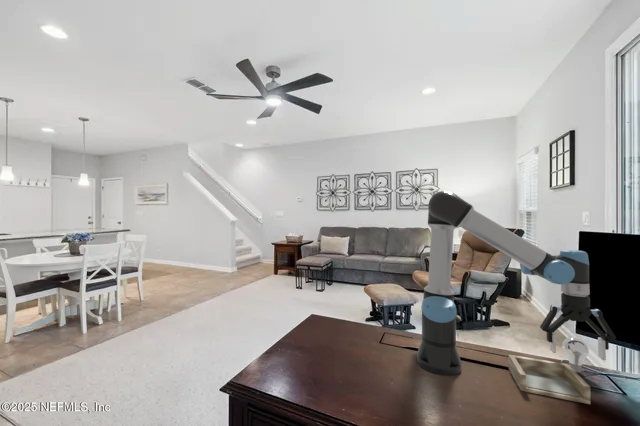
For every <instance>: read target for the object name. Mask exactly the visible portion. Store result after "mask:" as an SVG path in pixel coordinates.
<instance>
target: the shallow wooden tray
mask: <svg viewBox="0 0 640 426" xmlns="http://www.w3.org/2000/svg"><path fill="white" fill-rule="evenodd" d="M508 370H509V372H510V373H511V375H512V377H513V379H514V381H515V383H516V384H517V386H518V388H519V391H522V392H526V393H532V394H537V395H541V396H547V397H552V398H556V399H562V400H567V401H572V402H576V403H581V404H582V403H583V404H587V405H591V386H590V385H589V384H588V383H587V382H586V381H585V380H584V379H583V378H582V377H581V376H580V375H579V373H576V372H575V371H574V370H573V369H572V368H571V367H570V366H569V363H563V362H556V361H551V360H546V359H537V358H532V357H527V356H520V355H513V354H508Z"/></svg>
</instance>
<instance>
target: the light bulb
mask: <svg viewBox="0 0 640 426" xmlns="http://www.w3.org/2000/svg"><path fill="white" fill-rule="evenodd" d="M561 347H562V350H563V352H564V354H565V355H566V358H567V360H568V362H569V363H568V365H569V366H570V367H571V368H572V369H573V370H574V371H575V372H576V373H577V374H579V373H581V372H582V370H583V366H582V365H583V364H584V360H585V359H587V357H588V356H589V354H590V350H589V347H588V345H587V344H586V342H584V341H583V340H582V339H580V338H577V337H574V336H573V337H572V336H571V337H570V336H569V337H566V338H565V339H564V340H563V341H562V344H561Z"/></svg>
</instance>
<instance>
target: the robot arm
mask: <svg viewBox="0 0 640 426" xmlns="http://www.w3.org/2000/svg"><path fill="white" fill-rule="evenodd" d="M427 209H428V213H427V226H429V228H430V245H429V246H430V247H429V262H428V264H429V265H428V278H427V279H428V281H427V285H426V286H424V287H423V299H422V302H421V307H420V308H421V342H420V344H419V347H418V349H417V353H416V363H417V364H418V365H419V367H421V368H422V369H424V370H426V371H427V372H430V373H433V374H436V375H439V376H440V375H441V376H456V375H458V374H460V373H461V372H462V361H461V358H460V354H459V350H458V348H457V312H458V311H457V307H456V306H457V305H456V304H455V302H454V301H455V292H454V291H453V290H452V288H451V281H452V268H453V267H452V266H453V265H452V263H453V250H454V249H453V246H454V231H455V229H458V228H462V229H463V230H464V231H466V232H468V233H470V234H471V235H473V236H474V237H476V238H478V239H480V240H481V241H483V242H484V243H486V244H488V245H489V246H491V247H493V248H494V249H496V250H497V251H499V252H501V253H502V254H504V255H506V256H507V257H508V258H511V259H512V260H514V261H516V262H517V263H519V268H520V271H521V272H522V274H523V275H528V276H529V275H530V276H539V277H540V278H543V279H545V280H547V281H548V282H549V283H551V284H554V285H560V291H561V294H560V299H561V300H560V302H561V306H557V305H554V304H551V305H550V308H549V311H548V313H547V314H546V316H545V318H544V319H543V321H542V322H541V324H540V326H539V328H540V329H541V330H542V331H543V332H545V333H546V340H547V342H549V347H550V348H549V350H550V351H551V352H552V354H556V353H557V346H556V345H557V340H556V334H555V332H556V331H557V330H558V329H559V328H561V327H562V325H564V324H565V323H567V322H568V321H571V322H579V323H583V322H585V323H586V324H588V325H589V327H590V328H592V329H593V330H594V332H596V334H597V335H598V336H600V337H597V350H598V351H597V352H598V353H597V354H598V355H597V356H598V357H599V358H600V359H601V360H603V361H606V360H607V358H606V357H607V356H606V355H607V354H606V350H607V351H608V350H609V348H610V347H609V342H611V341H612V340H616V339H617V336H616V335H615V334H614V331H613V330H612V329H611V327H610V326H609V324H608V322H607V321H606V320H605V318H604V313H603V311H602V310H600V309H598V308H594V309H591V297H590V293H591V292H590V261H589V254H588V253H587V252H586V251H584V250H578V249H577V250H574V249H573V250H572V249H561V250H560V251H559V253H558V254H559V255H555V254H554V255H552V254H550V253H548V252H546V251H545V250H543V249H542V248H540V247H539V246H537V245H535V244H533V243H532V242H530V241H528V240H526V239H524V238H523V237H521V236H519V235H518V234H516V233H514V232H512V231H511V230H509V229H507V228H506V227H504V226H502V225H500V224H499V223H497V222H496V221H493V220H492V219H491V218H489V217H487V216H485V215H483V214H482V213H480V212H478V211H477V210H475V207H474V206H473V205H472V204H470V203H469V202H467V201H466V200H464V199H463V198H461V197H460V196H459V195H458V194H455V193H454V192H452V191H449V190H442V191H438V192H436V193H434V194H433V195H432V196H431V198H430V199H429V201H428V207H427ZM559 312H561V314H560V315H559V317H558V318H557V319H556V320H554V319H555V317H556V316H557V314H558V313H559ZM591 315H593V316H594V317H595V318H596V320H597V321H598V323H599V324H600V327H602V329H603V331H602V329H601V328H600V327H598V325H596V323H595V322H594V321H592V319H591V318H590V316H591ZM604 332H605V333H604Z"/></svg>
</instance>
